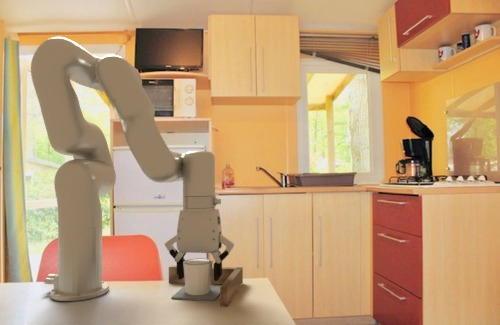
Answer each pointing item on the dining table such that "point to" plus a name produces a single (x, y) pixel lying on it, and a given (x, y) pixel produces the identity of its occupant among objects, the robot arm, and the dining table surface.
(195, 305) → the dining table surface
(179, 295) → the pad
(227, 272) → the wooden corner fence
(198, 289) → the white cup
